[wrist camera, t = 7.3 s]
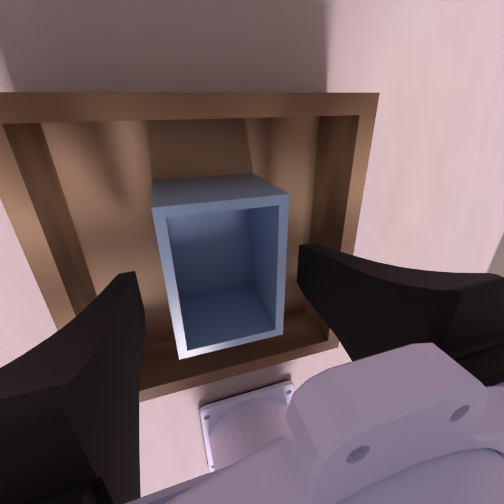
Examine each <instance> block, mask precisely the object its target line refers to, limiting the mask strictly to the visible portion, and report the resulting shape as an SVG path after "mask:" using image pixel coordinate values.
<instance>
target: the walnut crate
mask: <svg viewBox="0 0 504 504" xmlns="http://www.w3.org/2000/svg"><path fill="white" fill-rule="evenodd" d="M378 99H379V93H15V92H0V198H1V201H2V203H3V205H4V208H5V210H6V212H7V214H8V217H9V219H10V221H11V224H12V226H13V228H14V231H15V233H16V235H17V238H18V240H19V242H20V244H21V247H22V249H23V251H24V254H25V256H26V258H27V261H28V263H29V265H30V268H31V270H32V272H33V274H34V277H35V279H36V281H37V284H38V286H39V288H40V291H41V293H42V295H43V298H44V300H45V302H46V304H47V307H48V309H49V311H50V314H51V316H52V318H53V321H54V323H55V325H56V328H57V330H58V331H59V330H60V329H61V328H62V327H64V326H65V325H66V324H68V323H69V322H70V321H71V320H72V319H74V318H75V317H76V316H77V315H78V314H79V313H80V312H81V311H82V310H84V309H85V308H86V307H87V306H88V305H89V304H90V303H91V302H92V301H93V300H94V299H95V298H96V297H97V296H98V295H99V294H100V293H101V292H102V291H103V290H104V289H105V288H106V287H107V285H108V284H109V283H110V282H111V281H112V280H113V279H114V278H115V277H116V276H117V275H118V274H119V273H125V272H131V271H135V272H136V276H137V281H138V285H139V289H140V293H141V297H142V301H143V306H144V310H145V328H146V334H145V343H144V352H143V360H142V369H141V377H140V389H139V402H142V401H146V400H149V399H153V398H156V397H160V396H164V395H167V394H171V393H175V392H178V391H182V390H185V389H189V388H193V387H196V386H200V385H203V384H207V383H211V382H214V381H218V380H221V379H225V378H229V377H232V376H236V375H240V374H243V373H247V372H250V371H254V370H258V369H261V368H265V367H268V366H272V365H276V364H279V363H283V362H286V361H290V360H294V359H297V358H301V357H305V356H308V355H312V354H315V353H319V352H323V351H326V350H330V349H333V348H337V347H338V344H339V339H338V338H337V337H336V335H335V334H334V333H333V331H332V330H331V329H330V328H329V327H328V325H327V324H326V323H325V322H324V320H323V319H322V318H321V317H320V315H319V314H318V313H317V312H316V311H315V309H314V308H313V307H312V306H311V304H310V303H309V302H308V300H307V299H306V298H305V296H304V294H303V293H302V291H301V289H300V287H299V286H298V284H297V268H298V252H299V245H302V244H308V243H313V244H318V245H322V246H325V247H328V248H331V249H334V250H338V251H341V252H344V253H347V254H350V255H353V252H354V246H355V240H356V234H357V227H358V221H359V215H360V209H361V203H362V197H363V191H364V185H365V178H366V172H367V166H368V160H369V154H370V148H371V142H372V136H373V129H374V123H375V117H376V111H377V105H378ZM247 173H254V174H256V175H257V176H259V177H261V178H263V179H264V180H266V181H268V182H270V183H271V184H273V185H275V186H276V187H278V188H280V189H282V190H283V191H285V192H287V193H289V213H288V234H287V256H286V278H285V300H284V321H283V334H282V335H278V336H274V337H270V338H266V339H262V340H257V341H253V342H249V343H245V344H241V345H237V346H233V347H229V348H225V349H221V350H217V351H213V352H208V353H204V354H200V355H196V356H192V357H188V358H184V359H180V360H179V356H178V350H177V345H176V339H175V334H174V328H173V323H172V318H171V312H170V307H169V301H168V296H167V290H166V285H165V279H164V274H163V268H162V263H161V258H160V252H159V247H158V241H157V236H156V230H155V225H154V219H153V214H152V208H151V204H152V181H154V180H168V179H181V178H194V177H207V176H221V175H234V174H247Z"/></svg>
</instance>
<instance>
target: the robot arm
mask: <svg viewBox="0 0 504 504" xmlns="http://www.w3.org/2000/svg"><path fill="white" fill-rule="evenodd" d="M297 284H298V286H299V287H300V289H301V291H302V293H303V294H304V296H305V298H306V299H307V300H308V302H309V303H310V304H311V306H312V307H313V308H314V309H315V311H316V312H317V313H318V314H319V315H320V317H321V318H322V319H323V320H324V322H325V323H326V324H327V325H328V327H329V328H330V329H331V330H332V331H333V333H334V334H335V335H336V337H337V338H338V339H339V341H340V343H341V344H342V346H343V347H344V349H345V350H346V352H347V353H348V355H349V357H350V358H351V360H352V362H349V363H346V364H343V365H339V366H336V367H332V368H329V369H327V370H325V371H323V372H321V373H319V374H317V375H315V376H313V377H311V378H309V379H308V380H307V381H306V382H305V383H304V384H303V385H301V386H300V387H299V388H298V389H297V390H296V391H295V392H294V384H293V382H292V381H285V382H282V383H278V384H275V385H272V386H268V387H265V388H261V389H258V390H255V391H251V392H248V393H245V394H241V395H238V396H234V397H231V398H228V399H224V400H221V401H218V402H214V403H211V404H208V405H204V406H203V407H201V408H200V411H199V412H200V418H201V424H202V430H203V436H204V443H205V449H206V455H207V461H208V467H209V473H208V474H205V475H202V476H199V477H196V478H194V479H191V480H188V481H185V482H183V483H180V484H177V485H174V486H172V487H169V488H166V489H163V490H161V491H158V492H155V493H152V494H150V495H147V496H144V497H140V460H139V389H140V377H141V369H142V360H143V352H144V343H145V334H146V328H145V310H144V306H143V301H142V297H141V293H140V289H139V285H138V281H137V276H136V272H135V271H131V272H125V273H119V274H118V275H117V276H116V277H115V278H114V279H113V280H112V281H111V282H110V283H109V284H108V285H107V287H106V288H105V289H104V290H103V291H102V292H101V293H100V294H99V295H98V296H97V297H96V298H95V299H94V300H93V301H92V302H91V303H90V304H89V305H88V306H87V307H86V308H85V309H84V310H82V311H81V312H80V313H79V314H78V315H77V316H76V317H75V318H74V319H72V320H71V321H70V322H69V323H68V324H66V325H65V326H64V327H62V328H61V329H60V330H59V331H57V332H56V333H55V334H53V335H52V336H50V337H49V338H48V339H46V340H45V341H43V342H42V343H40V344H39V345H37V346H36V347H34V348H32V349H31V350H29V351H28V352H26V353H25V354H23V355H22V356H20V357H18V358H17V359H15V360H13V361H12V362H10V363H8V364H7V365H5V366H3V367H1V368H0V504H504V277H501V276H499V275H496V274H491V273H451V272H436V271H425V270H418V269H410V268H403V267H398V266H393V265H388V264H383V263H378V262H374V261H371V260H367V259H363V258H360V257H356V256H353V255H350V254H347V253H344V252H341V251H338V250H334V249H331V248H328V247H325V246H322V245H318V244H313V243H308V244H302V245H299V252H298V268H297Z"/></svg>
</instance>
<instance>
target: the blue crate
mask: <svg viewBox="0 0 504 504" xmlns="http://www.w3.org/2000/svg"><path fill="white" fill-rule="evenodd" d="M151 208H152V214H153V219H154V225H155V230H156V236H157V241H158V247H159V252H160V258H161V263H162V268H163V274H164V279H165V285H166V290H167V296H168V301H169V307H170V312H171V318H172V323H173V328H174V334H175V339H176V345H177V350H178V356H179V360H180V359H184V358H188V357H192V356H196V355H200V354H204V353H208V352H213V351H217V350H221V349H225V348H229V347H233V346H237V345H241V344H245V343H249V342H253V341H257V340H262V339H266V338H270V337H274V336H278V335H282V334H283V321H284V300H285V278H286V256H287V234H288V213H289V193H287V192H285V191H283V190H282V189H280V188H278V187H276V186H275V185H273V184H271V183H270V182H268V181H266V180H264V179H263V178H261V177H259V176H257V175H256V174H254V173H247V174H234V175H221V176H207V177H194V178H181V179H168V180H154V181H152V204H151Z"/></svg>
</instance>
